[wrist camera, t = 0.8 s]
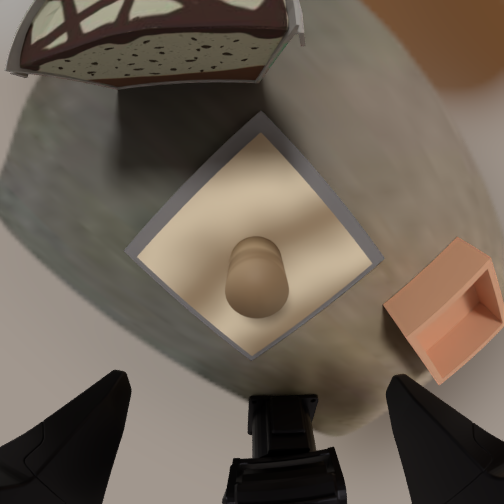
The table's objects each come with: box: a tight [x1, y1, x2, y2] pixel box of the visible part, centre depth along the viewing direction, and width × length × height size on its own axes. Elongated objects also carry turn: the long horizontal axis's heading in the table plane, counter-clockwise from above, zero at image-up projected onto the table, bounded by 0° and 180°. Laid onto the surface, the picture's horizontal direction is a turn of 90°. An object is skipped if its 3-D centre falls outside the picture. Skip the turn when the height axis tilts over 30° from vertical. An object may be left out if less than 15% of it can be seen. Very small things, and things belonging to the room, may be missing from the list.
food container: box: [5, 0, 305, 90], centre depth 10 cm, size 12×6×10 cm, turn 87°
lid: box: [137, 133, 372, 356], centre depth 17 cm, size 11×11×5 cm
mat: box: [124, 111, 385, 361], centre depth 20 cm, size 13×13×1 cm
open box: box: [383, 237, 504, 385], centre depth 20 cm, size 8×8×4 cm
